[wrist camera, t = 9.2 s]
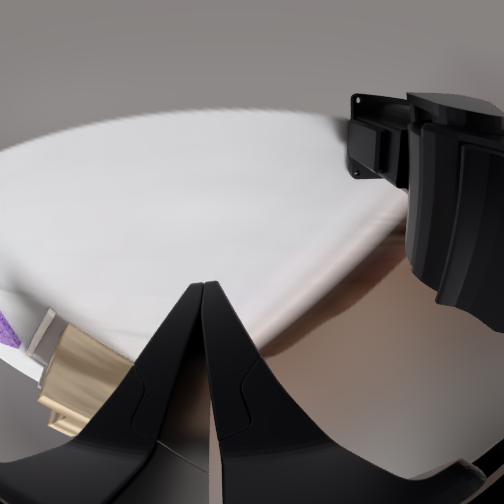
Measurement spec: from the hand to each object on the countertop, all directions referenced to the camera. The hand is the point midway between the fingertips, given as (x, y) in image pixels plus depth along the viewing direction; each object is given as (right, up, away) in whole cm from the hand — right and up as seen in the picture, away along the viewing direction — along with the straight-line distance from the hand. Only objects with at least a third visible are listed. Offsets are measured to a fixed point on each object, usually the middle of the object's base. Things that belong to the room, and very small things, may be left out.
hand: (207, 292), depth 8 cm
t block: (-22, -15, +22) cm, 35 cm away
